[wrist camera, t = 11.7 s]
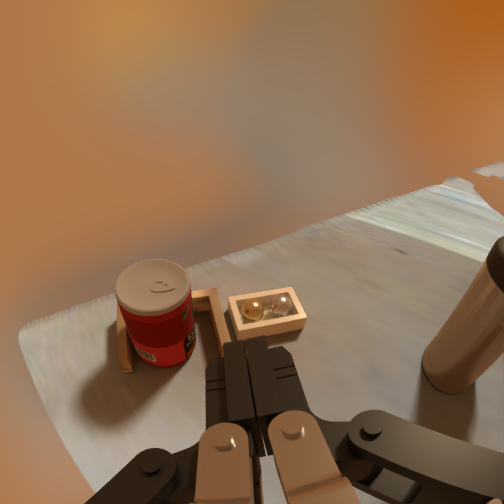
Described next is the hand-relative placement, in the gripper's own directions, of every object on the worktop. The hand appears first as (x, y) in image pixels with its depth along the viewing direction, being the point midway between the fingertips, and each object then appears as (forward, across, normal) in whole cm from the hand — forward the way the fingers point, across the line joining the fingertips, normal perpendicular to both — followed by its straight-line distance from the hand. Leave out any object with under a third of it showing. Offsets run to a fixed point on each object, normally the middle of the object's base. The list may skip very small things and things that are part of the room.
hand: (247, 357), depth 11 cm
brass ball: (+26, -1, +16) cm, 31 cm away
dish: (+26, -2, +17) cm, 31 cm away
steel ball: (+26, -4, +17) cm, 32 cm away
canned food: (+23, +11, +16) cm, 30 cm away
